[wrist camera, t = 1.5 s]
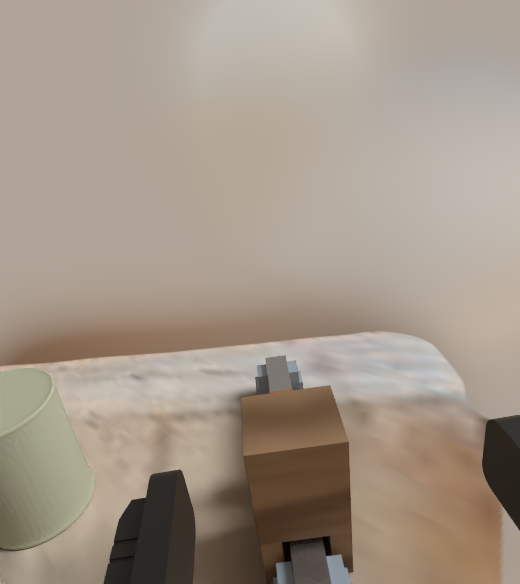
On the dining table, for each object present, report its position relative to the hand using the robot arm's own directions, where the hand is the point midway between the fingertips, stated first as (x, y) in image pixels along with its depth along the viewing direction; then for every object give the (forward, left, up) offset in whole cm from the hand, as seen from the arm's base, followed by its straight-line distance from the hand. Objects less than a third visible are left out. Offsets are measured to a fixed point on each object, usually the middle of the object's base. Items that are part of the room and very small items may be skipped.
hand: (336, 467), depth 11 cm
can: (-31, 0, -23) cm, 38 cm away
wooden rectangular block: (-8, +9, -23) cm, 26 cm away
